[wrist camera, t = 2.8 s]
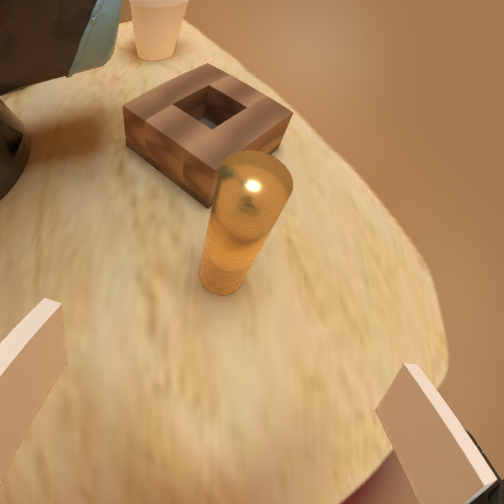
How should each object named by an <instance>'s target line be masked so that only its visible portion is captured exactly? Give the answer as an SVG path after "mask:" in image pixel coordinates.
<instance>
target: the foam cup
mask: <svg viewBox="0 0 504 504" xmlns="http://www.w3.org/2000/svg"><path fill="white" fill-rule="evenodd" d="M129 1H130V4H131V11H132V20H133V28H134V36H135V43H136V50H137V55H138V57H139V58H141V59H143V60H148V61H157V60H163V59H167V58H168V57H170V56H172V54H173V53H174V49H175V46H176V42H177V38H178V35H179V31H180V27H181V24H182V20H183V17H184V14H185V10H186V7H187V4H188V1H189V0H129Z"/></svg>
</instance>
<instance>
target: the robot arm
mask: <svg viewBox="0 0 504 504" xmlns="http://www.w3.org/2000/svg"><path fill="white" fill-rule="evenodd" d="M122 1H123V0H0V96H2V95H4V94H7V93H10V92H13V91H16V90H19V89H22V88H25V87H28V86H31V85H34V84H38V83H41V82H45V81H48V80H52V79H56V78H59V77H63V76H66V78H69V77H71V76H72V75H73V74H76V73H80V72H83V71H87V70H91V69H96V68H99V67H101V66H103V65H104V64H105V63H107V62H108V61H109V60H110V58H111V56H112V55H113V52H114V49H115V44H116V38H117V32H118V26H119V20H120V14H121V8H122ZM29 151H30V142H29V138H28V135H27V133H26V130H25V128H24V126H23V124H22V122H21V121H20V120H19V119H18V118H17V117H16V116H15V115H14V114H13V113H12V112H11V111H10V109H9V108H8V107H7V106H6V105H5V104H4V103H3V102H2V101H1V100H0V199H1V198H2V197H3V196H4V195H5V194H6V193H7V192H8V191H9V189H10V188H11V187H12V186H13V184H14V183H15V182H16V180H17V179H18V177H19V176H20V174H21V172H22V171H23V169H24V167H25V164H26V162H27V159H28V156H29ZM66 364H67V358H66V350H65V340H64V328H63V312H62V303H59V302H56V301H53V300H50V299H47V298H44V299H43V300H42V301H41V302H40V303H39V304H38V305H37V306H36V307H35V308H34V309H33V310H32V311H31V312H30V313H29V314H28V315H27V316H26V317H25V318H24V319H23V320H22V321H21V322H20V323H19V324H18V325H17V326H16V327H15V328H14V329H13V330H12V331H11V332H10V333H9V334H8V335H7V337H6V338H5V339H4V340H3V341H2V342H1V343H0V485H1V483H2V481H3V479H4V476H5V474H6V472H7V470H8V468H9V466H10V464H11V462H12V460H13V458H14V456H15V454H16V452H17V450H18V448H19V446H20V444H21V442H22V440H23V438H24V436H25V434H26V432H27V430H28V429H29V427H30V425H31V423H32V421H33V419H34V418H35V416H36V414H37V412H38V411H39V409H40V407H41V405H42V403H43V402H44V400H45V398H46V397H47V395H48V393H49V392H50V390H51V388H52V386H53V385H54V383H55V381H56V380H57V378H58V377H59V375H60V373H61V372H62V370H63V368H64V367H65V365H66ZM375 412H376V414H377V416H378V418H379V420H380V422H381V424H382V426H383V428H384V430H385V432H386V434H387V436H388V438H389V440H390V442H391V444H392V446H393V448H394V450H395V452H396V454H397V456H398V459H399V461H400V463H401V465H402V467H403V469H404V471H405V473H406V475H407V478H408V480H409V482H410V484H411V486H412V488H413V490H414V493H415V495H416V497H417V499H418V501H419V503H420V504H504V480H501V478H500V477H499V476H498V474H497V473H496V471H495V470H494V468H493V466H492V465H491V463H490V462H489V460H488V459H487V457H486V456H485V454H484V453H482V450H481V448H480V447H479V446H477V442H476V441H475V439H474V438H473V437H472V435H471V434H470V433H469V432H468V431H466V430H465V429H464V428H463V427H462V425H461V424H460V423H459V421H458V419H457V418H456V417H455V415H454V414H453V412H452V411H451V410H450V408H449V407H448V405H447V404H446V403H445V401H444V400H443V398H442V397H441V396H440V394H439V393H438V392H437V390H436V389H435V388H434V386H433V385H432V384H431V382H430V381H429V379H428V378H427V377H426V375H425V374H424V373H423V372H422V370H421V369H420V368H419V366H418V365H417V364H406V363H403V365H402V367H401V369H400V371H399V372H398V374H397V376H396V377H395V379H394V381H393V382H392V384H391V386H390V387H389V389H388V391H387V392H386V394H385V396H384V397H383V399H382V400H381V402H380V403H379V405H378V406H377V408H376V409H375Z"/></svg>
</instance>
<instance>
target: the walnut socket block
mask: <svg viewBox="0 0 504 504" xmlns="http://www.w3.org/2000/svg"><path fill="white" fill-rule="evenodd" d="M123 114H124V125H125V135H126V144H127V146H129V147H130V148H131V149H132V150H134V151H135V152H136V153H138V154H139V155H140V156H141V157H143V158H144V159H145V160H147V161H148V162H149V163H150V164H152V165H153V166H154V167H155V168H157V169H158V170H159V171H161V172H162V173H163V174H164V175H166V176H167V177H168V178H170V179H171V180H172V181H173V182H175V183H176V184H177V185H178V186H180V187H181V188H182V189H183V190H185V191H186V192H187V193H189V194H190V195H191V196H192V197H194V198H195V199H196V200H197V201H199V202H200V203H201V204H203V205H204V206H205V207H206V208H210V207H211V206H212V204H213V199H214V194H215V189H216V185H217V180H218V175H219V171H220V167H221V165H222V163H223V161H224V160H225V159H226V158H227V157H228V156H230V155H231V154H233V153H236V152H239V151H244V150H255V151H261V152H264V153H267V154H269V155H270V154H272V153H273V152H274V151H275V150H276V149H278V147H279V145H280V143H281V140H282V138H283V136H284V133H285V131H286V128H287V126H288V124H289V121H290V119H291V117H292V114H293V112H292V111H290V110H289V109H287V108H285V107H284V106H282V105H281V104H279V103H277V102H276V101H274V100H273V99H271V98H269V97H268V96H266V95H264V94H263V93H261V92H259V91H258V90H256V89H254V88H252V87H251V86H249V85H247V84H245V83H244V82H242V81H240V80H238V79H236V78H235V77H233V76H231V75H229V74H227V73H225V72H223V71H222V70H220V69H218V68H216V67H214V66H212V65H210V64H208V63H207V64H205V65H202V66H200V67H198V68H196V69H193V70H191V71H189V72H187V73H184V74H182V75H180V76H178V77H176V78H174V79H172V80H170V81H168V82H166V83H164V84H162V85H160V86H158V87H156V88H154V89H152V90H150V91H148V92H146V93H144V94H143V95H141V96H139V97H137V98H135V99H134V100H132V101H130V102H128V103H126V104H125V105H123Z"/></svg>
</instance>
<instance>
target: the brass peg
mask: <svg viewBox="0 0 504 504" xmlns="http://www.w3.org/2000/svg"><path fill="white" fill-rule="evenodd" d="M292 190H293V181H292V177H291V174H290V172H289V171H288V169H287V168H286V167H285V165H284V164H283V163H282V162H280V161H279V160H278V159H276V158H275V157H273V156H271V155H269V154H267V153H264V152H261V151H255V150H244V151H239V152H236V153H233V154H231V155H230V156H228V157H227V158H226V159H225V160H224V161H223V163H222V165H221V167H220V171H219V175H218V180H217V185H216V189H215V194H214V199H213V204H212V209H211V214H210V219H209V224H208V229H207V234H206V239H205V244H204V250H203V255H202V260H201V266H200V272H199V276H200V280H201V283H202V284H203V286H204V287H205V288H206V289H207V290H208V291H209V292H211V293H213V294H216V295H228V294H231V293H233V292H235V291H236V290H237V289H238V288H239V287H240V285H241V283H242V281H243V280H244V278H245V276H246V274H247V272H248V271H249V269H250V267H251V265H252V263H253V262H254V260H255V258H256V256H257V254H258V253H259V251H260V249H261V247H262V246H263V244H264V242H265V240H266V238H267V237H268V235H269V233H270V231H271V229H272V228H273V226H274V224H275V222H276V220H277V219H278V217H279V215H280V213H281V211H282V210H283V208H284V206H285V204H286V202H287V201H288V199H289V197H290V195H291V193H292Z"/></svg>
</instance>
